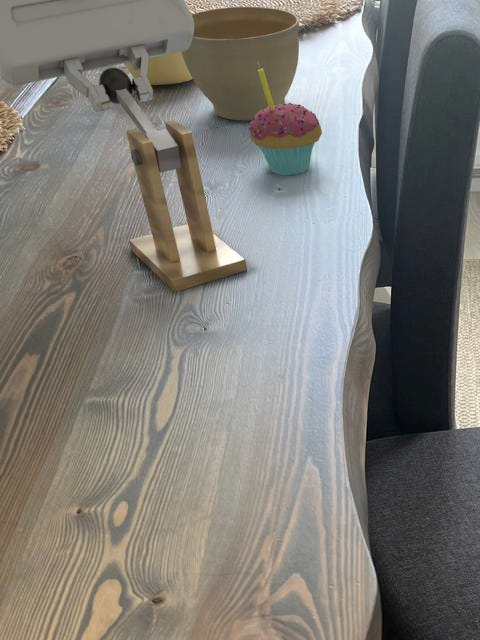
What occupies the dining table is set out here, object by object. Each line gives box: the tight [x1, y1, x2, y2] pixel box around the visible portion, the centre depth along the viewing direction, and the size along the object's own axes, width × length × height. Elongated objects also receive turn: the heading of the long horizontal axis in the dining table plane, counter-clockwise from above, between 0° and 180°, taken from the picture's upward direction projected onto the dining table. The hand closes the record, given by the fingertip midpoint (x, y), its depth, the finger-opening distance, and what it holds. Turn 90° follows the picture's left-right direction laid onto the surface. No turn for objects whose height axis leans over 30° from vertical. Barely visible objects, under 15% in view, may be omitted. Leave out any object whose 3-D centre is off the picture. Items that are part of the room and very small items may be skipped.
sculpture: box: [123, 52, 193, 86], centre depth 146 cm, size 12×12×11 cm
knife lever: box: [98, 67, 181, 174], centre depth 100 cm, size 14×3×3 cm, turn 34°
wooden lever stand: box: [125, 119, 248, 293], centre depth 101 cm, size 12×8×13 cm, turn 35°
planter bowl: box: [181, 6, 300, 122], centre depth 135 cm, size 16×16×11 cm
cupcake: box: [248, 62, 323, 176], centre depth 120 cm, size 9×8×12 cm
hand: (125, 103), depth 102 cm, fingers closed on knife lever, 3 cm apart
